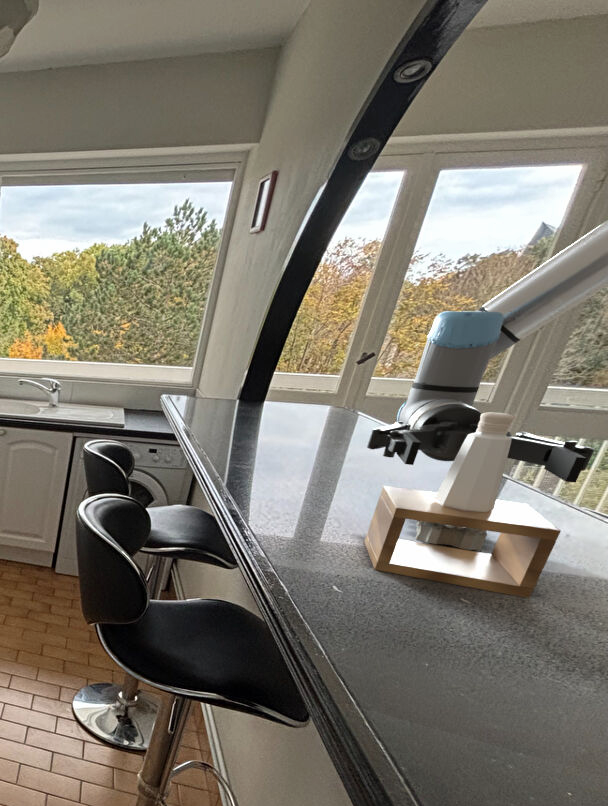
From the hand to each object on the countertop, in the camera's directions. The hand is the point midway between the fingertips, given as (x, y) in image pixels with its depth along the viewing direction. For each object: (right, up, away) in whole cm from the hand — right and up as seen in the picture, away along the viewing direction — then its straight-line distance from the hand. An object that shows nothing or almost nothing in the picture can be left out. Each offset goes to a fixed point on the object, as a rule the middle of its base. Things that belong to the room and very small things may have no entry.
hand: (490, 461), depth 66 cm
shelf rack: (+2, -12, +8) cm, 15 cm away
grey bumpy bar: (+12, -9, +18) cm, 23 cm away
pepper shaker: (+2, -5, +5) cm, 7 cm away
